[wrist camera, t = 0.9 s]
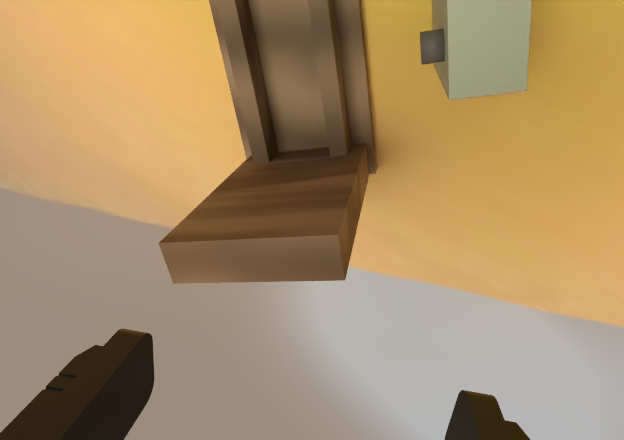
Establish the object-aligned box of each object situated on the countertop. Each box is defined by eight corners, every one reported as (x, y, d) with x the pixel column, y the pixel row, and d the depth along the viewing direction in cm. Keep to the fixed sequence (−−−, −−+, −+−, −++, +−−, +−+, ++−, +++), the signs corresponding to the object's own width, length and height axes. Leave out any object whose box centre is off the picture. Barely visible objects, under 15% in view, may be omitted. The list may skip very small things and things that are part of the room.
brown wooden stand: (178, -157, 25) (-66, -332, 12) (339, -209, 23) (247, -497, 10) (256, 179, 35) (164, 283, 22) (376, 168, 32) (355, 280, 19)
